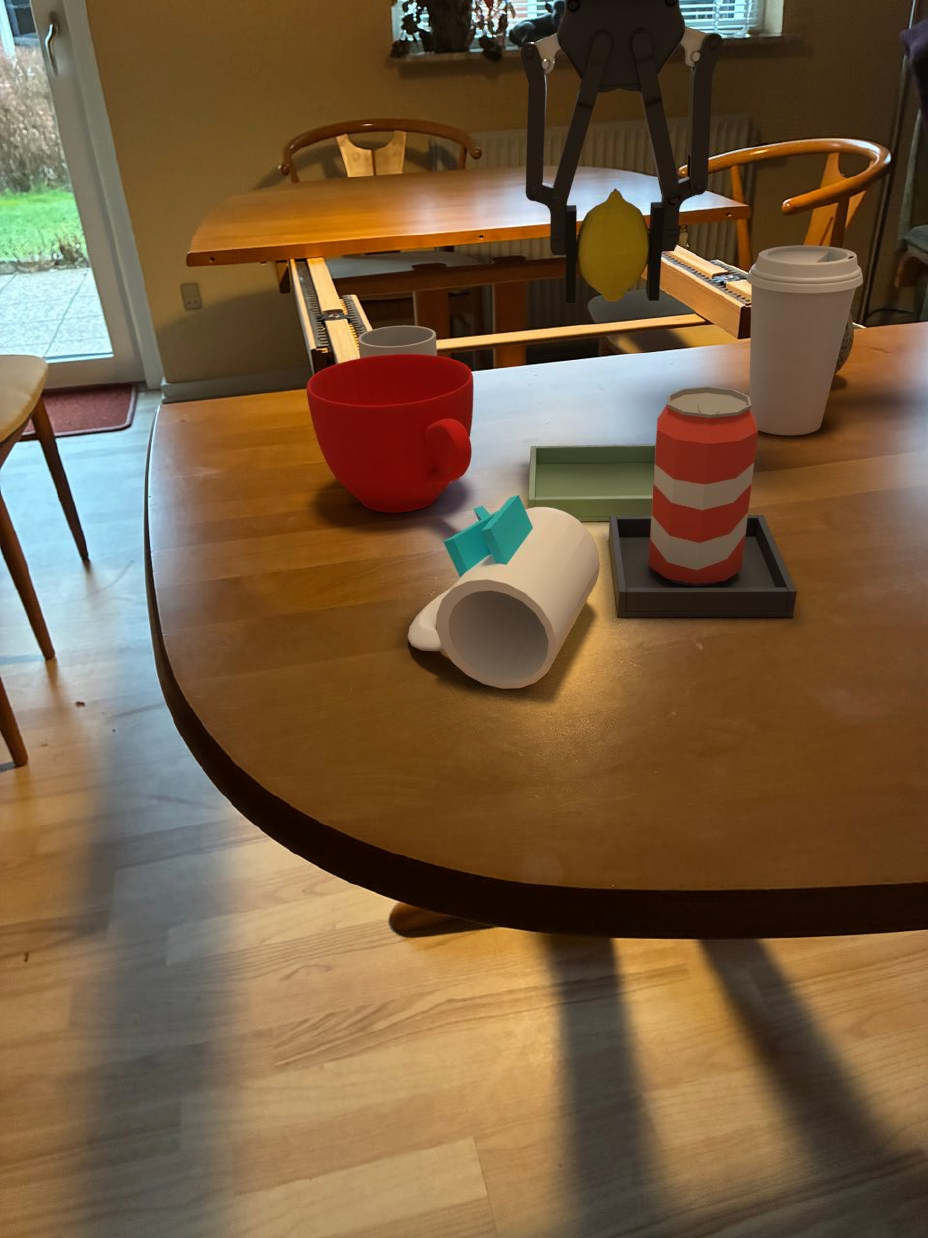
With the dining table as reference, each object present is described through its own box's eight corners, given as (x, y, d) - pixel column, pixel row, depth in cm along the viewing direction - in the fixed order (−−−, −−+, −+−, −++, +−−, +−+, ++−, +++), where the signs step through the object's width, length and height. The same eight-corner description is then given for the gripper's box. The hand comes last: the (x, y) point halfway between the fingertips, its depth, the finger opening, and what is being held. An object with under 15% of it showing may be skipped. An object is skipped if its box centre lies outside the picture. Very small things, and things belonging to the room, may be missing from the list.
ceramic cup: (395, 567, 68) (382, 434, 63) (296, 491, 80) (278, 375, 75) (538, 517, 74) (538, 392, 69) (426, 453, 86) (418, 343, 81)
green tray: (658, 464, 82) (659, 443, 81) (672, 520, 72) (674, 497, 71) (530, 466, 83) (530, 445, 82) (528, 521, 73) (528, 499, 72)
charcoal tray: (760, 537, 69) (763, 514, 68) (792, 617, 60) (797, 591, 59) (608, 539, 70) (609, 515, 69) (617, 617, 61) (618, 591, 60)
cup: (446, 415, 95) (441, 325, 90) (430, 453, 86) (423, 356, 82) (376, 415, 96) (367, 325, 91) (353, 453, 87) (342, 356, 83)
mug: (574, 450, 59) (510, 534, 49) (626, 576, 62) (575, 677, 53) (421, 499, 65) (338, 582, 56) (475, 612, 68) (406, 708, 59)
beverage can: (647, 590, 63) (658, 417, 57) (649, 546, 68) (659, 383, 62) (742, 595, 62) (764, 418, 55) (736, 549, 67) (755, 383, 61)
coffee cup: (794, 450, 83) (820, 271, 75) (710, 422, 90) (725, 255, 82) (860, 423, 88) (891, 252, 80) (775, 398, 94) (796, 239, 86)
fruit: (619, 289, 76) (623, 180, 72) (662, 302, 72) (669, 187, 68) (561, 299, 74) (561, 188, 70) (602, 314, 70) (605, 196, 66)
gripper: (761, -79, 63) (726, 282, 75) (483, -61, 65) (493, 289, 77) (784, -91, 57) (742, 306, 69) (475, -71, 58) (487, 313, 71)
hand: (611, 296), depth 73 cm, fingers closed on fruit, 5 cm apart
